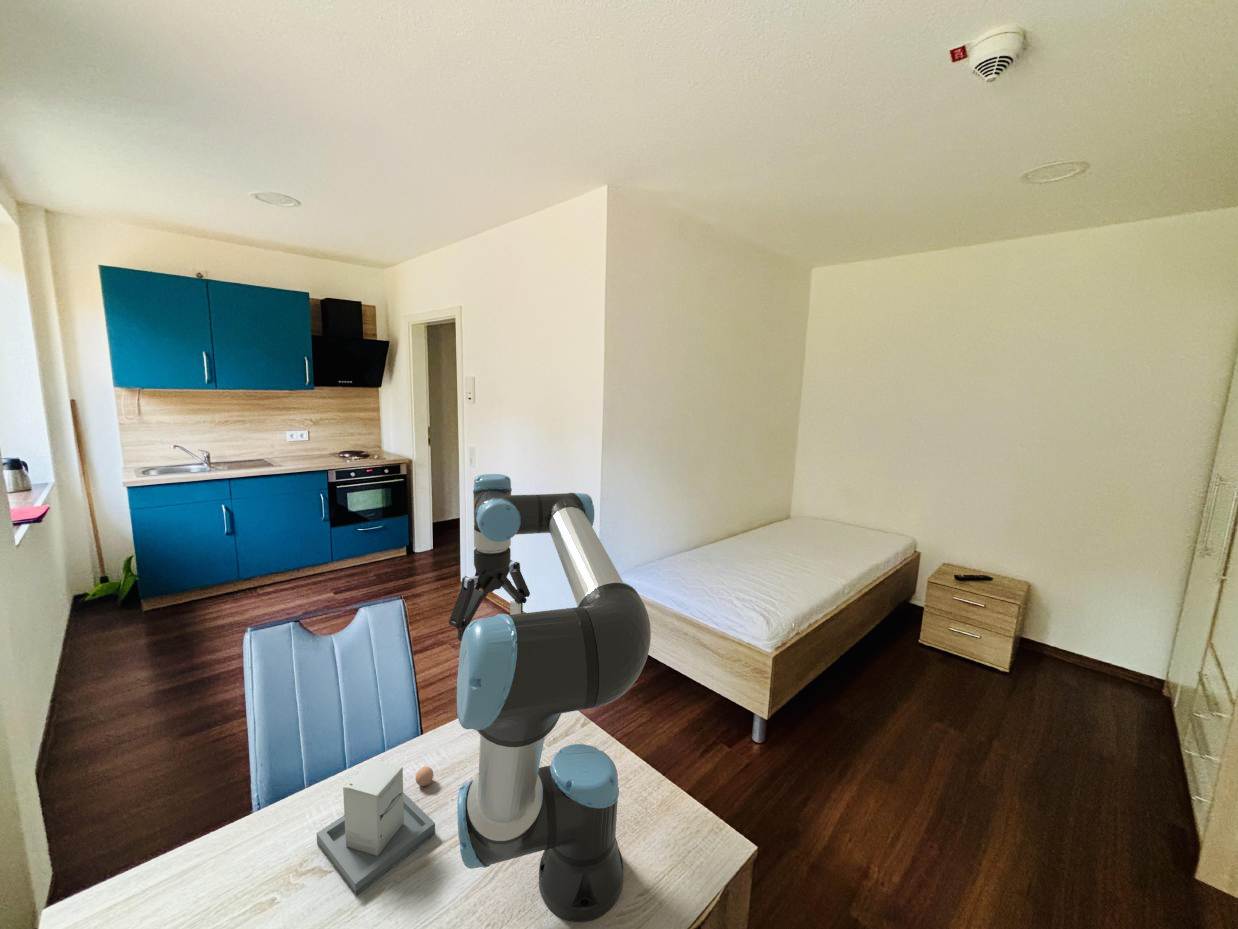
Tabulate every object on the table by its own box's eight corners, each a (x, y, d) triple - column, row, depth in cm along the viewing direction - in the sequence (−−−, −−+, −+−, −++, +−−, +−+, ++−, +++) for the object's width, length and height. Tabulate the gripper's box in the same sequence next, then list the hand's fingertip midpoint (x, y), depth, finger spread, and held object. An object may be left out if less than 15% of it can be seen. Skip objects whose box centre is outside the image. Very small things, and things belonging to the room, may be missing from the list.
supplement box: (378, 857, 89) (375, 796, 87) (344, 846, 90) (341, 786, 88) (405, 823, 96) (403, 766, 94) (373, 813, 97) (371, 757, 95)
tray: (435, 834, 95) (435, 823, 94) (355, 896, 83) (355, 884, 82) (394, 793, 104) (393, 783, 103) (317, 844, 92) (316, 833, 91)
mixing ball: (436, 782, 107) (436, 768, 106) (421, 793, 104) (421, 778, 103) (427, 774, 109) (427, 760, 108) (412, 784, 106) (412, 769, 106)
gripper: (523, 531, 115) (521, 615, 119) (429, 559, 95) (431, 659, 98) (546, 537, 111) (544, 624, 114) (453, 568, 91) (454, 673, 94)
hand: (492, 641), depth 106 cm, fingers open, 13 cm apart
